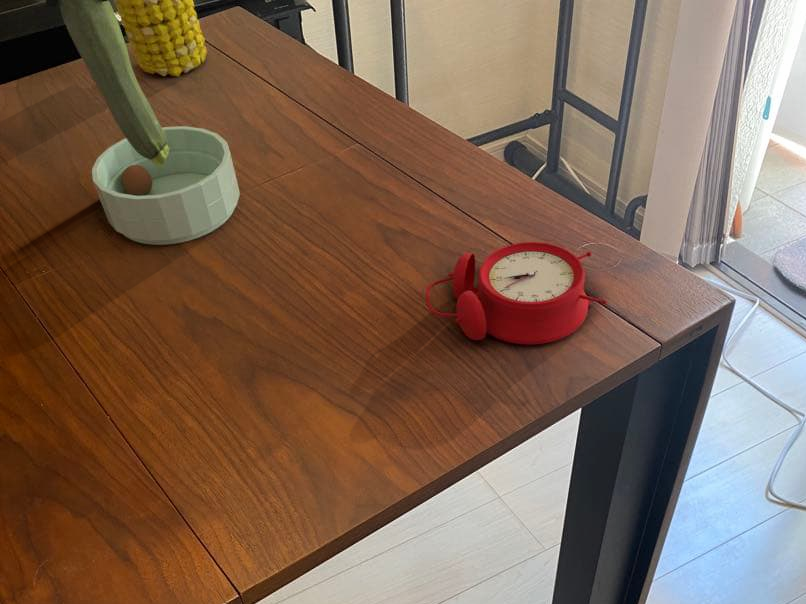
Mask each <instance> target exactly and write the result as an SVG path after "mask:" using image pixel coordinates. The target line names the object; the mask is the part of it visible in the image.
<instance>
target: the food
mask: <svg viewBox="0 0 806 604" xmlns="http://www.w3.org/2000/svg"><path fill="white" fill-rule="evenodd" d="M113 3H114V4H115V5H116V6H115V7H116V10H117V13H118V15H119V16H120V22H121V25H123V26H122V27H123V28H124V30H125V34H126V36H127V37H128V42H129V44H130V46H131V49H132V51H133V52H134V53H133V55H134V58H135V59H136V60H137V61H136V63H137V64H138V66H139V67H140V68H141V70H142V71H143V72H144V73H149V74H151V75H155V74H156V73H157V74H158V75H160V76H163V77H166V76H167V75H170V76H171V77H179V76H180V75H181V74H182V72H183V74H186V73H188V72H190V71H192V70H193V69H195V68H197V67H199V66H200V65H201V63H204V61H205V60H206V56H207V53H208V51H207V47H206V46H205V41H206V38H205V37H204V36H203V34H202V30H201V26H200V21H199V20H198V14H197V12H196V10H195V3H194V0H113Z"/></svg>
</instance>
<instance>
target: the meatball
mask: <svg viewBox="0 0 806 604" xmlns="http://www.w3.org/2000/svg"><path fill="white" fill-rule="evenodd" d="M121 182H122V185H123V188H124V189H125V191H126V192H127V193H128V194H130V195H135V196H145V195H147V194H148V193H149V192H150V190H151V188H152V178H151V175H150V173H149V172H148V171H147V170H146V169H145V168H143V167H142V166H139V165H131V166H129V167H127V168H126V169H125V170H124V171H123V173H122V177H121Z"/></svg>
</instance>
